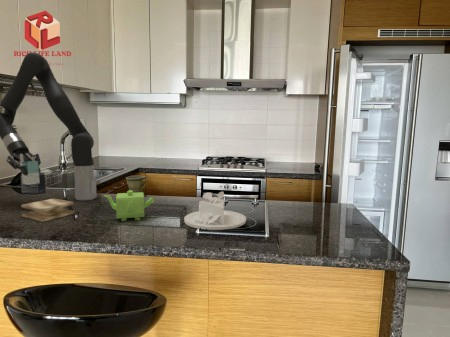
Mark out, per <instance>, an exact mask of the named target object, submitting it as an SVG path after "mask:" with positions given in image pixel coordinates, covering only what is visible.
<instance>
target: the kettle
mask: <svg viewBox="0 0 450 337" xmlns="http://www.w3.org/2000/svg"><path fill="white" fill-rule="evenodd" d="M103 197H104V198H106V199H107V200H108V201H109V204H110V206H111V208H112V209H113V210H114V211H116V212H115V215H116V219H118V220H119V219H120V221H121V222H126V221H128V219H130V218H131V219H133V218H134V220H135V221H141V218H144V217H145V209H146V208H147V207H149V206H150V205H152V204H153V203H155V199H154V197H152V196H151V197H150V198H149V199H147V200H146V201H145V194H144V191H143V192H140V193H133V191H132V190H129V189H128V190H127V191H126V192H122V193H121V192H120V193H117V194H116V197H115V202H114V200H113V198H112V196H111V195H108V194H106V195H103Z"/></svg>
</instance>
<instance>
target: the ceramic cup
mask: <svg viewBox="0 0 450 337" xmlns="http://www.w3.org/2000/svg"><path fill="white" fill-rule="evenodd" d="M125 181H126V184H127V186H128V191H129V190H132V191H133V193H140V192H143V193H144V188H145V186H147V184H148V183H149V182H148V180H147V179H146V176H145V175H130V176H127V177H125Z"/></svg>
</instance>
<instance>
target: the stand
mask: <svg viewBox="0 0 450 337" xmlns="http://www.w3.org/2000/svg"><path fill="white" fill-rule="evenodd" d="M72 205H75V202H74V201H71V200H70V201H69V200H66V199H65V200H63V199H59V198H49V199H44V200H39V201H33V202H29V203H24V204H21V206H20V207H21V208H23V209H27V210H32V211H30V212H28V213H27V212H26V213H22V214H21V217H22V218H26V219H30V220H33V221H38V222H42V223H43V222H47V221H51V220H55V219H58V218H63V217H66V216H71V215H74V214H75V210H69V209H65V207H68V206H72Z"/></svg>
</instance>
